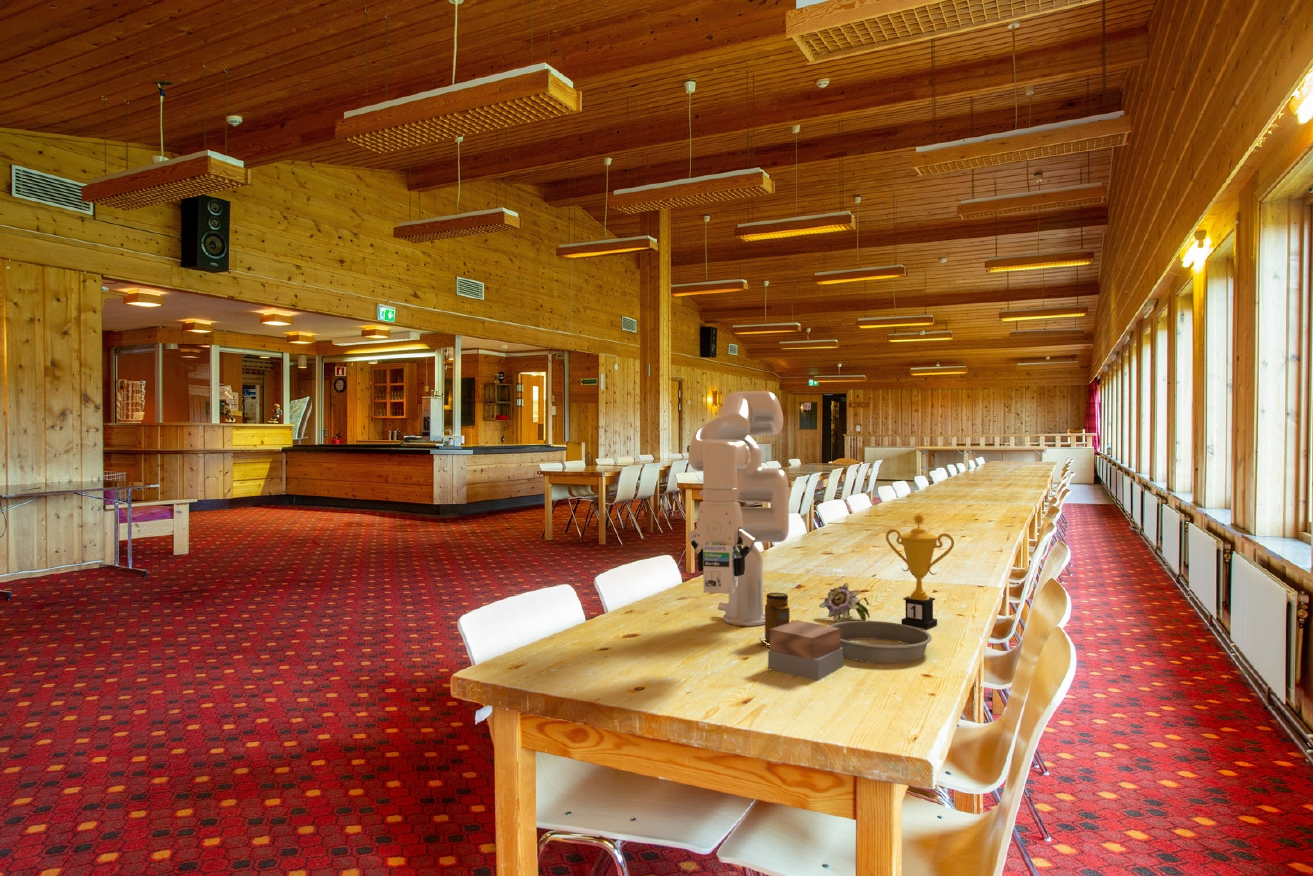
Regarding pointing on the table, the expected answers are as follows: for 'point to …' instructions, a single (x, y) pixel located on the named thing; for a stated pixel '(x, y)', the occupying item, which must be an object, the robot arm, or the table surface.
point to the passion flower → (844, 603)
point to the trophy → (919, 571)
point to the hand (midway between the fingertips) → (720, 572)
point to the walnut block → (805, 639)
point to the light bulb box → (719, 568)
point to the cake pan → (887, 632)
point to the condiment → (775, 613)
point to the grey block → (805, 664)
